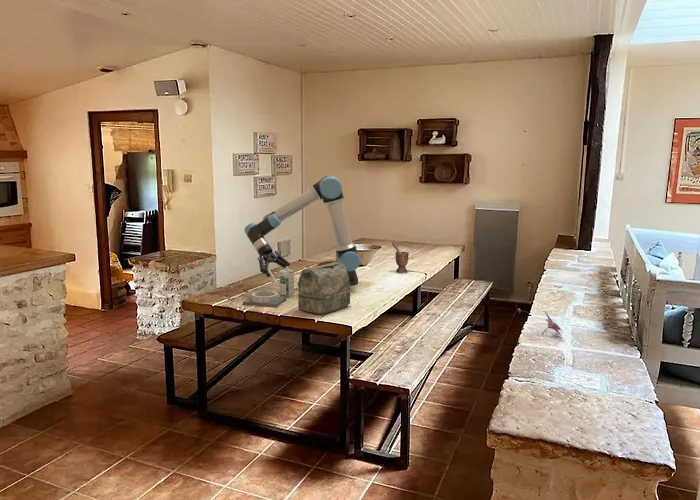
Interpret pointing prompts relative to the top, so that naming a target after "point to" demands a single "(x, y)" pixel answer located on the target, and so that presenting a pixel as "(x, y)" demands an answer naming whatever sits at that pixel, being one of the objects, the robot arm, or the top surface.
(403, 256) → the mortar and pestle
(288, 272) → the syrup box
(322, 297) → the lunch bag
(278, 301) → the ring block
